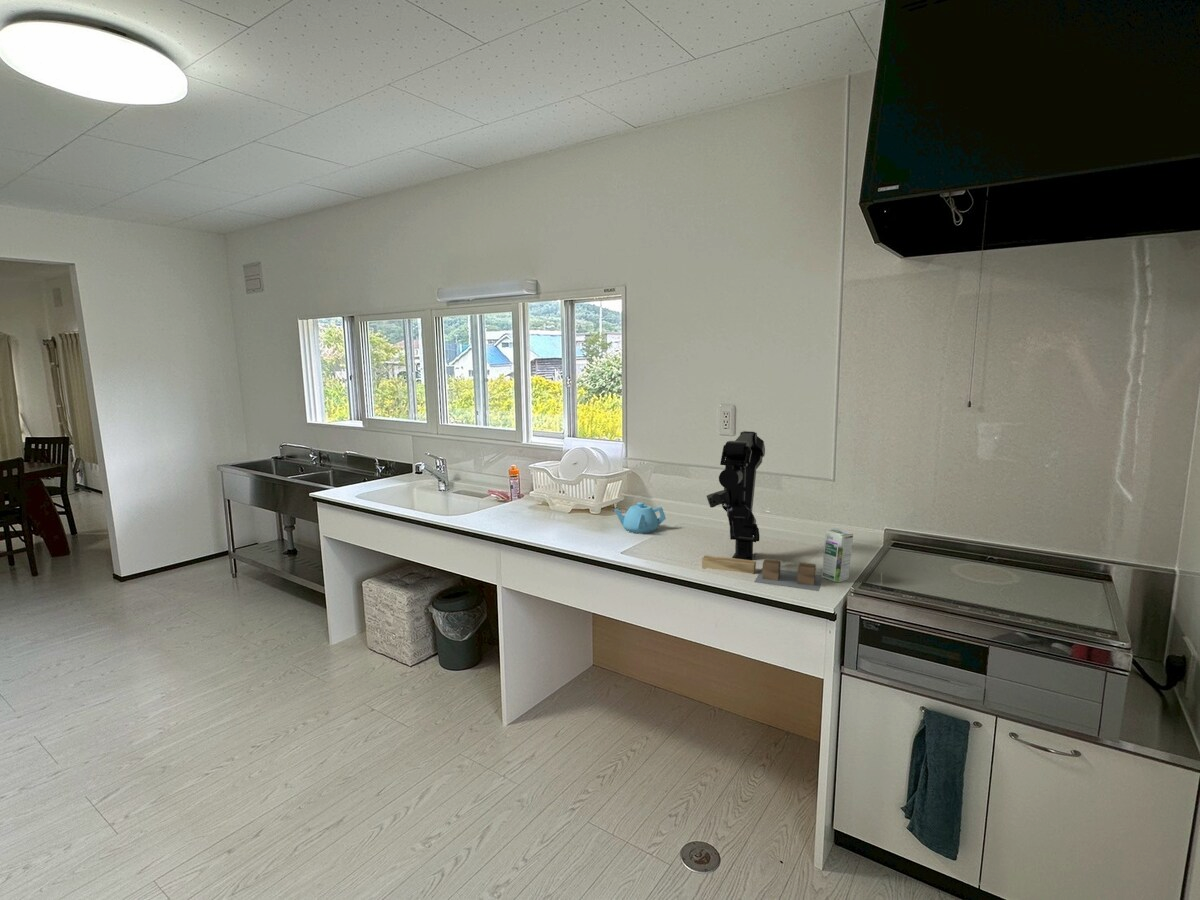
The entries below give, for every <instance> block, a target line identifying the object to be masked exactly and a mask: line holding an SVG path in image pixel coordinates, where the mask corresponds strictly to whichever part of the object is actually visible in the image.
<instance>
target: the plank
mask: <svg viewBox="0 0 1200 900" xmlns="http://www.w3.org/2000/svg"><path fill="white" fill-rule="evenodd" d="M756 565H757V562H756V560H744V559H735V558H732V557H726V556H725V557H724V556H718V555H717V556H716V555H708V554H705V555H704V556H703V557H702V559H701V569H704V570H706V569H709V570H710V569H711V570H719V571H728V572H733V573H734V572H736V573H745V574H752V575H754V574H755V572H756V570H757V568H756V567H757V566H756Z"/></svg>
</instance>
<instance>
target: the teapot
mask: <svg viewBox="0 0 1200 900" xmlns="http://www.w3.org/2000/svg"><path fill="white" fill-rule="evenodd" d="M613 510H614V512H615V514H616V516H617V517H618V520H619V522H620V523H621V526H623V527H622V528H624V530H625V531H626V530H627V531H626V532H628V531H629V533H631V532H633V533H632V534H639V533H643V534H650V532H651V533H653V531H654V532H656V530H657V529H658V528H659V525H661V524H662V523H663V522H664V521H665V520H666V519H667V518H666V515H665V512H664V509H663V506H659V507H653V508H652V506H650V505H646V504H645V502H641V501H639V502H636V504H634V505H631V506H629V507H628V510H627V511H626V513H625V515H623V514H622V512H621V511H620V510H619V508H614V509H613ZM656 512H659V517H658V516H657V514H656Z"/></svg>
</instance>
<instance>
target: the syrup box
mask: <svg viewBox="0 0 1200 900" xmlns="http://www.w3.org/2000/svg"><path fill="white" fill-rule="evenodd" d="M824 537H825V539H824V549H823V550H824V551H823V558H822V559H823V560H822V569H821V575H822V579H827V580H829V581H831V582H834V583H841V582H843V581H847V580H849V575H850V568H851V559H852V549H853V539H854V533H853V532H852V533H851V532H848V531H844V530H841V529H838V528H834V529H832V528H831V529H829V530H826V532H825V536H824Z"/></svg>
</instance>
